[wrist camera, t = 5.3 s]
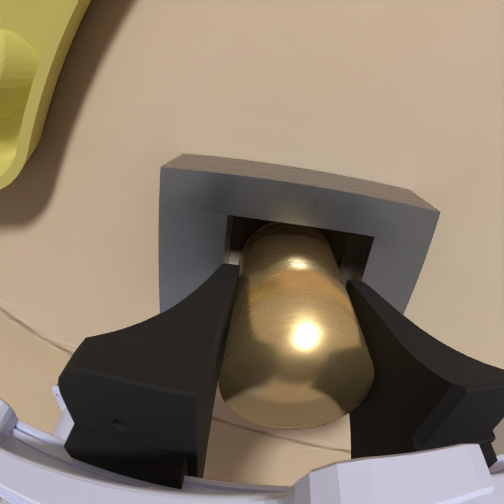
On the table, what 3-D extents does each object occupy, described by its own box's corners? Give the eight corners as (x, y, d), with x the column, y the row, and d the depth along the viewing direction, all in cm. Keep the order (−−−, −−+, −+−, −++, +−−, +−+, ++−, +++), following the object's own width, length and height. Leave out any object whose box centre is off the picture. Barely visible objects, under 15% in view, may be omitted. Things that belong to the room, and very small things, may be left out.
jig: (362, 332, 16) (375, 371, 14) (177, 310, 16) (162, 348, 14) (409, 190, 13) (440, 212, 10) (183, 153, 13) (160, 167, 10)
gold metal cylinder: (313, 310, 15) (334, 435, 9) (231, 289, 15) (206, 415, 8) (345, 234, 13) (402, 346, 7) (254, 207, 13) (240, 311, 7)
